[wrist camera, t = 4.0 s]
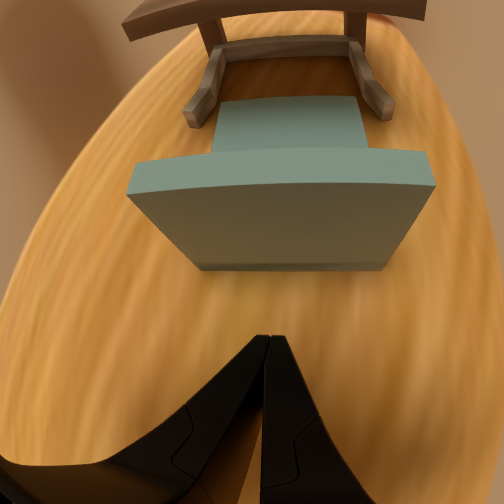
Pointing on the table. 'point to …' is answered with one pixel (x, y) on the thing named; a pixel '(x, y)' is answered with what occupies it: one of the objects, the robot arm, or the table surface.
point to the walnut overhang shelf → (270, 40)
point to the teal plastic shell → (286, 190)
